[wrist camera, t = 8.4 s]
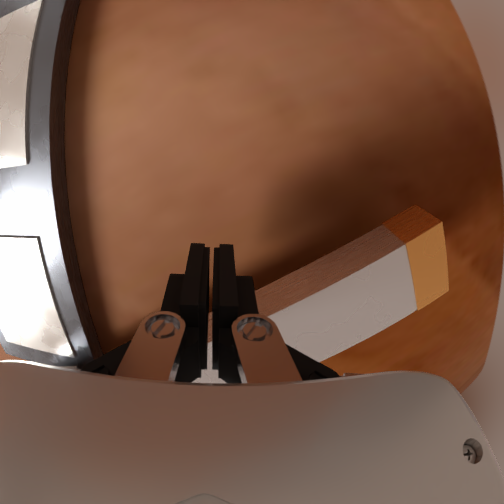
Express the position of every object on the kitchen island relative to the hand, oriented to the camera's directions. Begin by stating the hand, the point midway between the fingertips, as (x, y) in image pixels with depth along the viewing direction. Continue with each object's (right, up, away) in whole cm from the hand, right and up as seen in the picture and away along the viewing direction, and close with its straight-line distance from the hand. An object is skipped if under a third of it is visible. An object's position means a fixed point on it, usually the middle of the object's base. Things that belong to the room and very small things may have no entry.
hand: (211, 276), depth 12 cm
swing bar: (-3, -4, +5) cm, 7 cm away
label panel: (-13, +2, +2) cm, 14 cm away
